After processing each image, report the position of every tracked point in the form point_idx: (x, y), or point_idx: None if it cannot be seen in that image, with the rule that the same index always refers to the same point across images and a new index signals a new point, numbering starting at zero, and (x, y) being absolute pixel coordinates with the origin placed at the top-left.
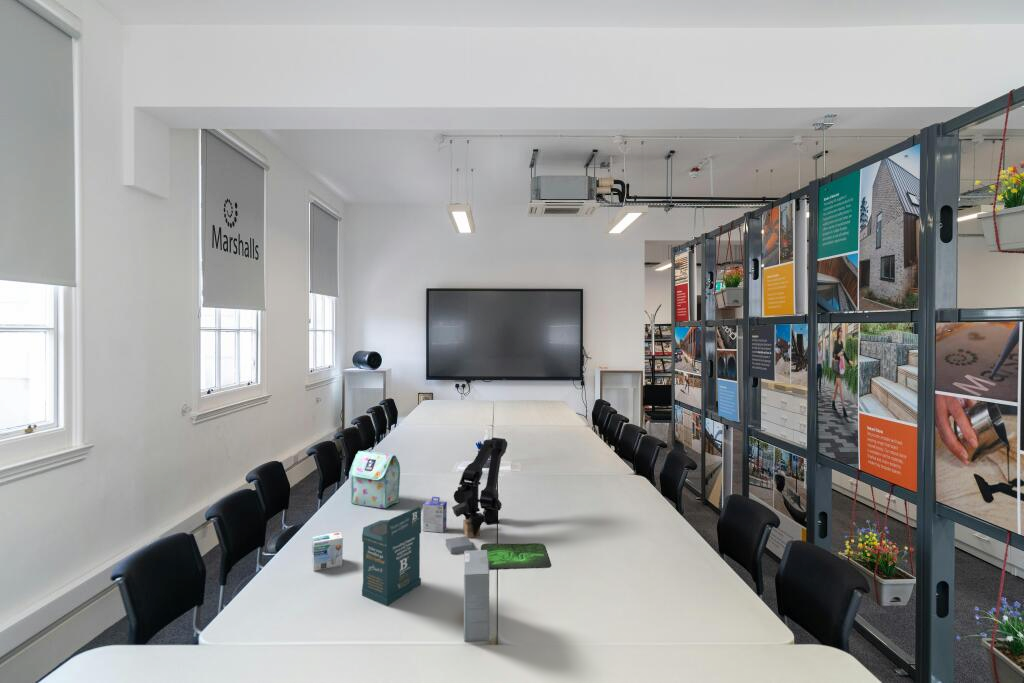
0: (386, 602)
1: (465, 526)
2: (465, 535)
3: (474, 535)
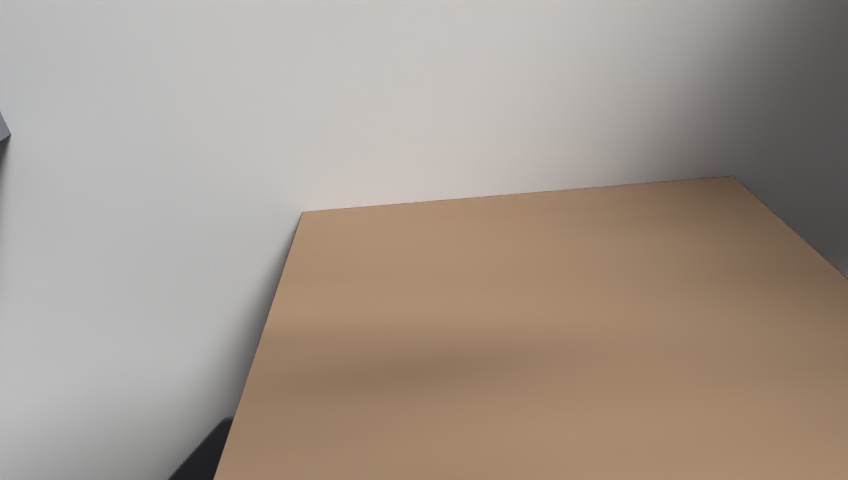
0: None
1: (555, 436)
2: (488, 202)
3: None
